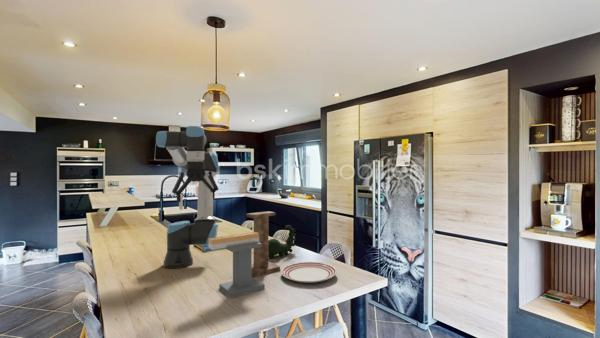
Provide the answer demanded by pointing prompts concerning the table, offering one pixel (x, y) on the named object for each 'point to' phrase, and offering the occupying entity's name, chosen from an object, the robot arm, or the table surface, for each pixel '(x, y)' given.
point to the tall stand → (261, 253)
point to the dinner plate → (308, 272)
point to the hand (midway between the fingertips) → (196, 207)
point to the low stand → (242, 272)
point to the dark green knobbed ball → (280, 248)
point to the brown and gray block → (233, 240)
